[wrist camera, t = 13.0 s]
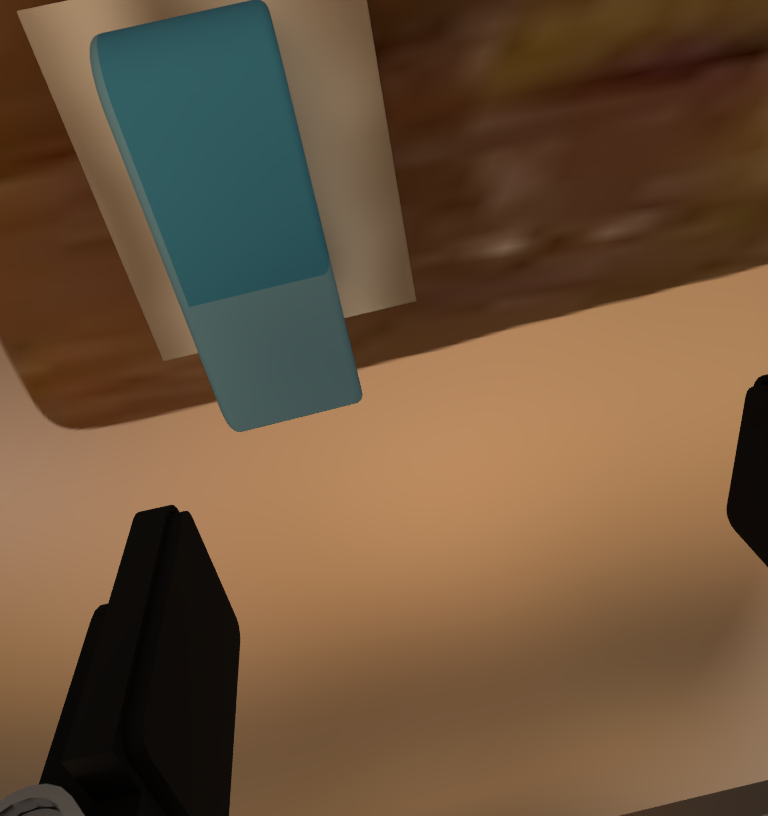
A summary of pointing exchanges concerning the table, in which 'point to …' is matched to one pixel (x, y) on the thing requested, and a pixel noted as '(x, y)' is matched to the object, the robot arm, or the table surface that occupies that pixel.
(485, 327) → the table surface
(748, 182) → the table surface
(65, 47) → the birch riser block
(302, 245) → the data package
